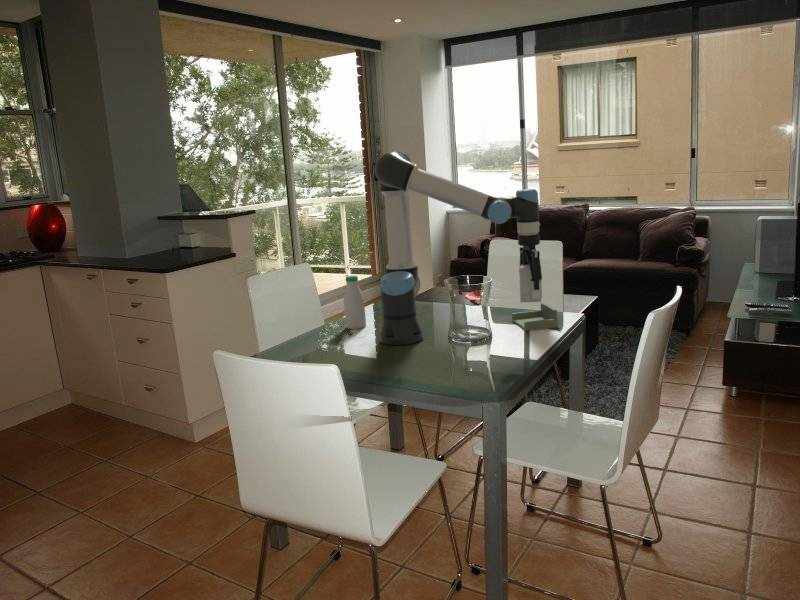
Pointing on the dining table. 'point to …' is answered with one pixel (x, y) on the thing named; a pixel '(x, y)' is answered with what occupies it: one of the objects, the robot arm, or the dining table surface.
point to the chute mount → (536, 318)
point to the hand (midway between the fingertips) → (531, 295)
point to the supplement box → (527, 285)
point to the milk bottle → (354, 304)
